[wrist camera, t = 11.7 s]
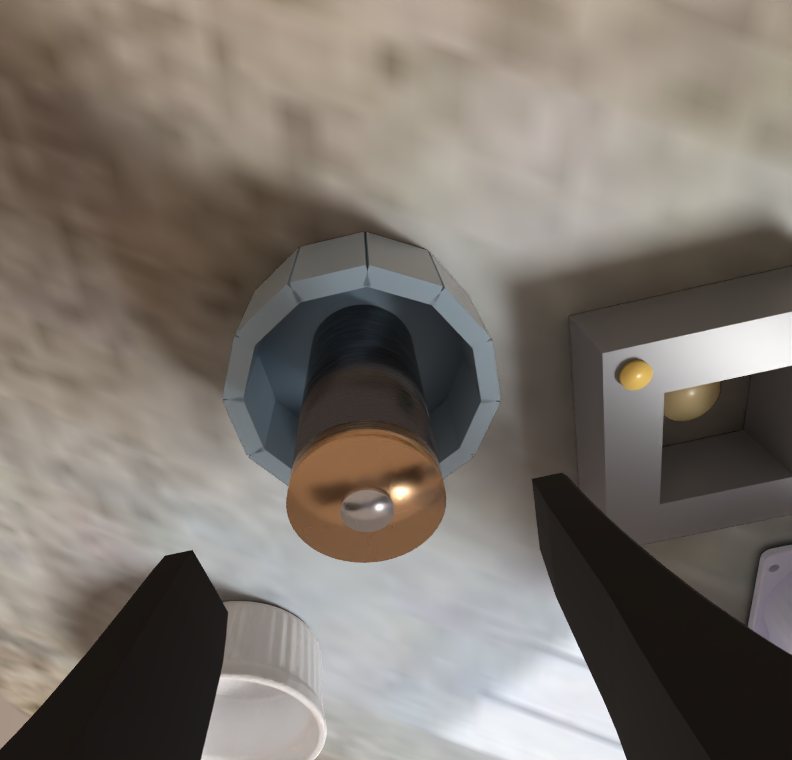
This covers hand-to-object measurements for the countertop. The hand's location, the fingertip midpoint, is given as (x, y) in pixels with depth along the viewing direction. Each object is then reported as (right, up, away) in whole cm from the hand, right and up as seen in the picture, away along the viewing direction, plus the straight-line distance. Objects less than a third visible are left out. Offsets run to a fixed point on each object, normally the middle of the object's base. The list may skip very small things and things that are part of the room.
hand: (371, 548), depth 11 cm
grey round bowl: (-1, +5, +8) cm, 9 cm away
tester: (+12, +3, +10) cm, 16 cm away
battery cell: (-1, +5, +8) cm, 9 cm away
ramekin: (-7, -10, +16) cm, 20 cm away
